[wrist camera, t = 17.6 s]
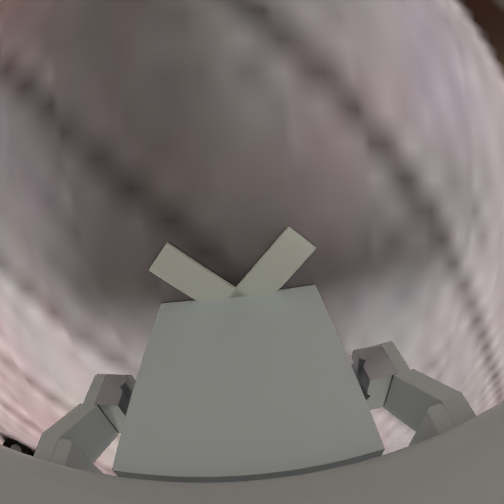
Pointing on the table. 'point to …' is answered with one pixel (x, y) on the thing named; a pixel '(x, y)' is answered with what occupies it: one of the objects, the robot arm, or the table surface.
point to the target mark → (254, 283)
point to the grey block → (245, 394)
